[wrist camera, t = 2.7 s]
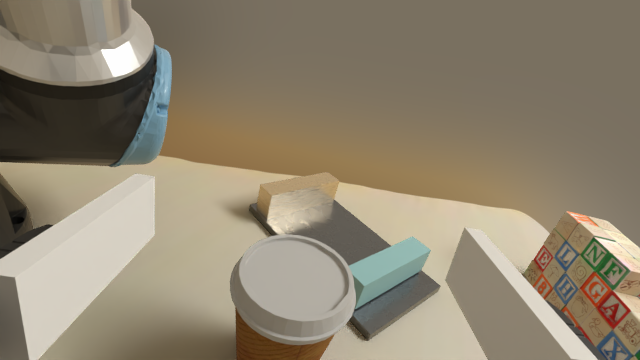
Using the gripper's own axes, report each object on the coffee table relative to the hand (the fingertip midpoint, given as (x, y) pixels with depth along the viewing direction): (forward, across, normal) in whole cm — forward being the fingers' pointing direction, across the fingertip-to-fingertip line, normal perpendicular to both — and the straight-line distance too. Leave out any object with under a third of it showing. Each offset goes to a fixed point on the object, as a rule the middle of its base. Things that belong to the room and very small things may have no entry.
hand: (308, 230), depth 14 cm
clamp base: (+28, +6, -18) cm, 34 cm away
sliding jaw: (+22, +11, -18) cm, 31 cm away
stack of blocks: (+21, +38, -21) cm, 48 cm away
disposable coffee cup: (+10, 0, -20) cm, 23 cm away
